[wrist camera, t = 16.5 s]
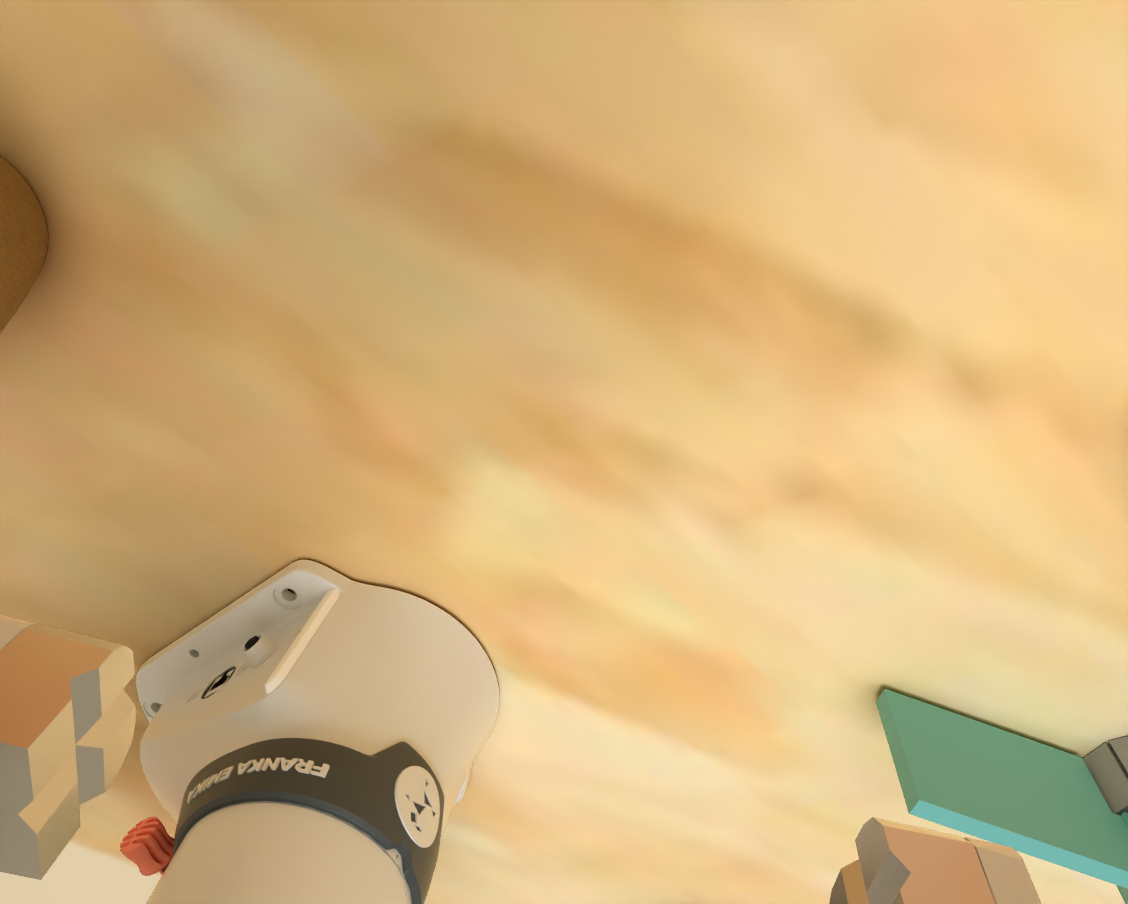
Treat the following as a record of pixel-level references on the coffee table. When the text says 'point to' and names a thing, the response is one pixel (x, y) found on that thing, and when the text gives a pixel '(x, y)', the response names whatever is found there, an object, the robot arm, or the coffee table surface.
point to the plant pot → (18, 240)
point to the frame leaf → (1111, 773)
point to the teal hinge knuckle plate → (1004, 789)
